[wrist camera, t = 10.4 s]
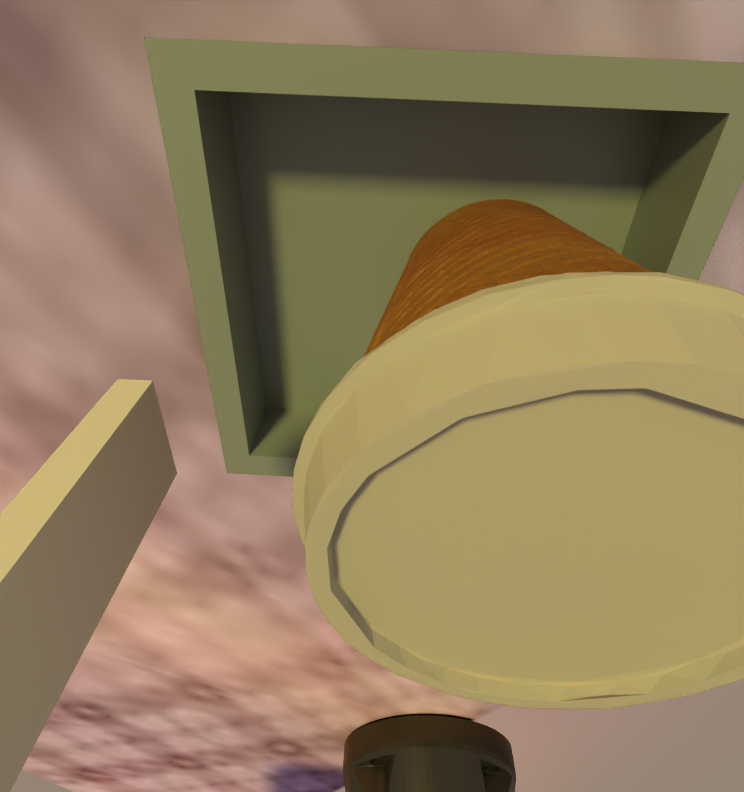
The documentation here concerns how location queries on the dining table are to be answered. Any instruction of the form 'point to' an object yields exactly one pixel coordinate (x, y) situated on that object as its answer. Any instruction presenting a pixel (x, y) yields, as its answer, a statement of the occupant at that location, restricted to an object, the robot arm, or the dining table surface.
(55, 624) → the robot arm
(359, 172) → the bin
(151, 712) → the dining table surface
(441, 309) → the disposable coffee cup
